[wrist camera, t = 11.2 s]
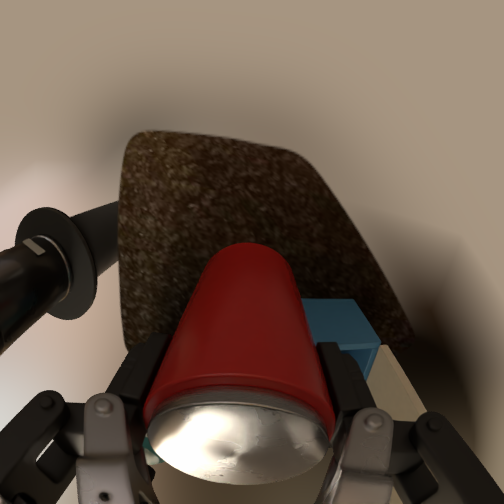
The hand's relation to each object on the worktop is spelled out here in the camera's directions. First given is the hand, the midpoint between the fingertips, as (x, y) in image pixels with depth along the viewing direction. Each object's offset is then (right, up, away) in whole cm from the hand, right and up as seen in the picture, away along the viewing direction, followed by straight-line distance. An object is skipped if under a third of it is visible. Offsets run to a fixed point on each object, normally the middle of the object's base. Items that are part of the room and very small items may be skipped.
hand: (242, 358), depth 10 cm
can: (0, +2, +6) cm, 7 cm away
